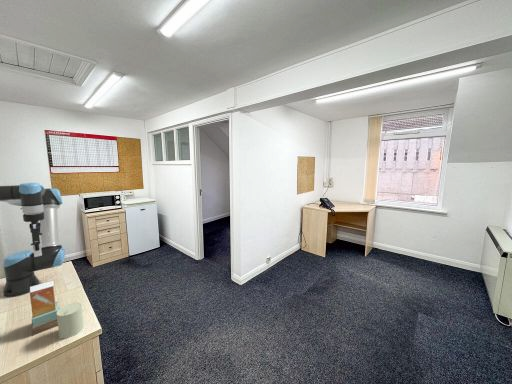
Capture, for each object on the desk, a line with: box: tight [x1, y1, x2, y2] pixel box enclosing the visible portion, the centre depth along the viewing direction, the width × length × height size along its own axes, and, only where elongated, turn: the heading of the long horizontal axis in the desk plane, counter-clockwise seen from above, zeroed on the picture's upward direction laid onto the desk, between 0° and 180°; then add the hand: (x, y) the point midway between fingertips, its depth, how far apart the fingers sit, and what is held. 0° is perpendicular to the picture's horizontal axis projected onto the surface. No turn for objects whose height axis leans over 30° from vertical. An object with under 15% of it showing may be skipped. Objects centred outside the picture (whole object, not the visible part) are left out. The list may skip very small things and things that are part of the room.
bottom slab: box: [31, 307, 61, 336], centre depth 104 cm, size 10×10×4 cm
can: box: [56, 302, 85, 339], centre depth 100 cm, size 9×9×12 cm
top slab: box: [31, 300, 60, 327], centre depth 104 cm, size 9×9×4 cm
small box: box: [29, 280, 56, 317], centre depth 102 cm, size 8×6×13 cm
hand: (38, 251), depth 111 cm, fingers open, 13 cm apart
